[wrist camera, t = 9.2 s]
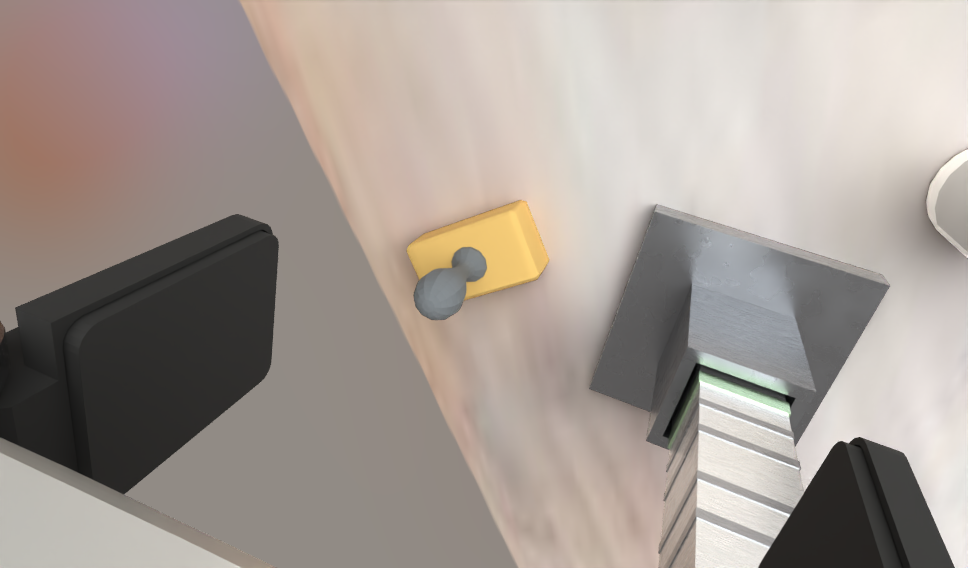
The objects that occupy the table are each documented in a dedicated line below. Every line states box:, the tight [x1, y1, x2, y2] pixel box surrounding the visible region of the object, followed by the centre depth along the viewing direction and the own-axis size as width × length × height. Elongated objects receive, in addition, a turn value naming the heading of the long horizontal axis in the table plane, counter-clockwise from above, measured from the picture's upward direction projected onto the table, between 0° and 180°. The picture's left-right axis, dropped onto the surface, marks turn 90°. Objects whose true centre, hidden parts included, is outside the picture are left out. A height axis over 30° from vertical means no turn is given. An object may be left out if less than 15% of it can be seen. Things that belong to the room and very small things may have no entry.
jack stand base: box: [589, 204, 890, 450], centre depth 43 cm, size 16×16×12 cm
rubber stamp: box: [407, 200, 549, 320], centre depth 47 cm, size 10×6×12 cm, turn 114°
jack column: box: [658, 363, 804, 568], centre depth 30 cm, size 5×5×22 cm
